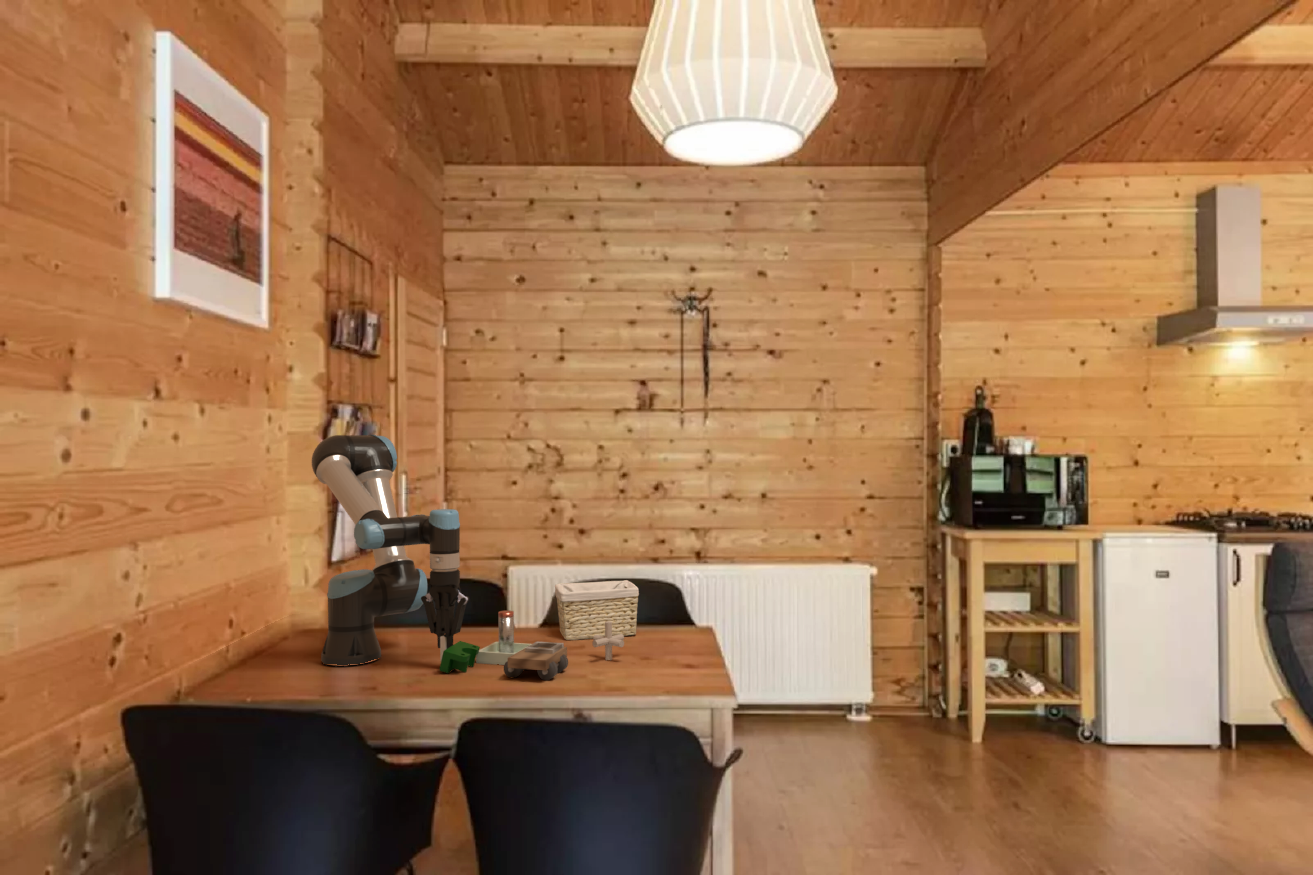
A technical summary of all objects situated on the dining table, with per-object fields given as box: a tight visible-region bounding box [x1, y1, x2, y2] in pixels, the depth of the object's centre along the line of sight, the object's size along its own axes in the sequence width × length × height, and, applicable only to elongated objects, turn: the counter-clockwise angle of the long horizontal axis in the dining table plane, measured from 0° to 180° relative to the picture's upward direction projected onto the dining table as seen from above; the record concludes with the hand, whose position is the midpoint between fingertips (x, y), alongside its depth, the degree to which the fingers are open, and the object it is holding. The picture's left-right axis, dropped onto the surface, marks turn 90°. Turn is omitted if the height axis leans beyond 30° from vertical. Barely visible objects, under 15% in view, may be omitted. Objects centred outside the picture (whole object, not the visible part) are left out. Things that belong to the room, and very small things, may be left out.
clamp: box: [439, 640, 481, 674], centre depth 221 cm, size 12×6×9 cm, turn 166°
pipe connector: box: [592, 621, 625, 661], centre depth 229 cm, size 10×10×10 cm
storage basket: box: [554, 579, 640, 641], centre depth 261 cm, size 24×16×15 cm
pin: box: [498, 610, 515, 653], centre depth 231 cm, size 4×4×12 cm
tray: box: [475, 641, 533, 666], centre depth 231 cm, size 12×12×3 cm
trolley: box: [503, 641, 569, 681], centre depth 215 cm, size 13×14×6 cm
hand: (445, 660), depth 222 cm, fingers closed
